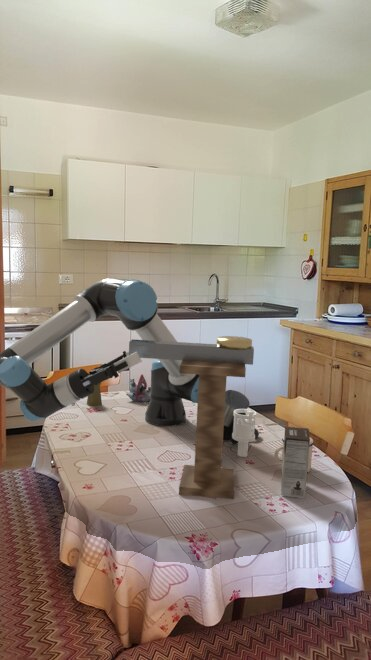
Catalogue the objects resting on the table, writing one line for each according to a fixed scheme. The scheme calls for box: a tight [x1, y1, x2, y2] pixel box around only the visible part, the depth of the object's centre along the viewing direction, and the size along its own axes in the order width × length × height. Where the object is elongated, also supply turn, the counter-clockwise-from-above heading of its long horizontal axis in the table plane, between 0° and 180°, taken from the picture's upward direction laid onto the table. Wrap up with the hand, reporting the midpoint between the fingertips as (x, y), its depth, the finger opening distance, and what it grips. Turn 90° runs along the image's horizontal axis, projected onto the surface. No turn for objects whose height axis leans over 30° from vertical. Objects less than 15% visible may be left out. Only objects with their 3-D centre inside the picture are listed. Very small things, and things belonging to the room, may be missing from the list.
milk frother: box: [223, 389, 260, 445], centre depth 169 cm, size 14×16×15 cm
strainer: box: [232, 408, 257, 458], centre depth 156 cm, size 7×7×15 cm
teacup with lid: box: [274, 435, 315, 473], centre depth 148 cm, size 12×9×12 cm
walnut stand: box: [178, 360, 247, 500], centre depth 133 cm, size 16×16×34 cm
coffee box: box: [280, 426, 310, 499], centre depth 133 cm, size 9×6×16 cm
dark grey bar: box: [128, 335, 255, 366], centre depth 131 cm, size 32×9×6 cm, turn 85°
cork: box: [86, 382, 102, 407], centre depth 203 cm, size 6×6×11 cm
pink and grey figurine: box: [125, 373, 151, 403], centre depth 212 cm, size 11×11×12 cm
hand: (144, 351), depth 132 cm, fingers open, 13 cm apart
